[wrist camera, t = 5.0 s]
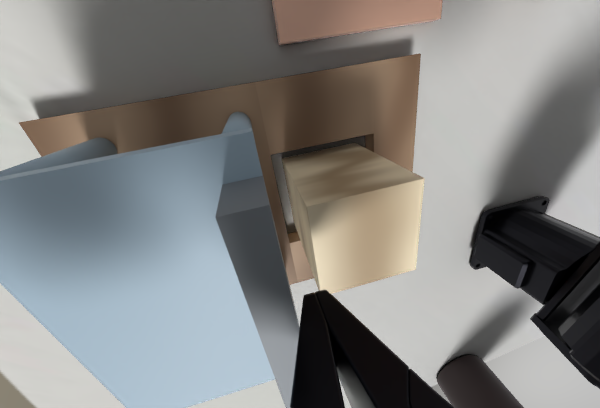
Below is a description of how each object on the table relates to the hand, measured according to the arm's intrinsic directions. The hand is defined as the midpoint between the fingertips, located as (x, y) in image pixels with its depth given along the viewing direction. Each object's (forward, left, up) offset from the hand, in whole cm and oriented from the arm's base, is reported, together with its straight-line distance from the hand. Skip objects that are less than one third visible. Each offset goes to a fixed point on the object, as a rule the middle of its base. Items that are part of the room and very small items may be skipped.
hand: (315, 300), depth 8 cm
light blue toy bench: (+5, 0, -8) cm, 9 cm away
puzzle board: (+1, 0, -9) cm, 9 cm away
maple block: (-3, 0, -9) cm, 10 cm away
